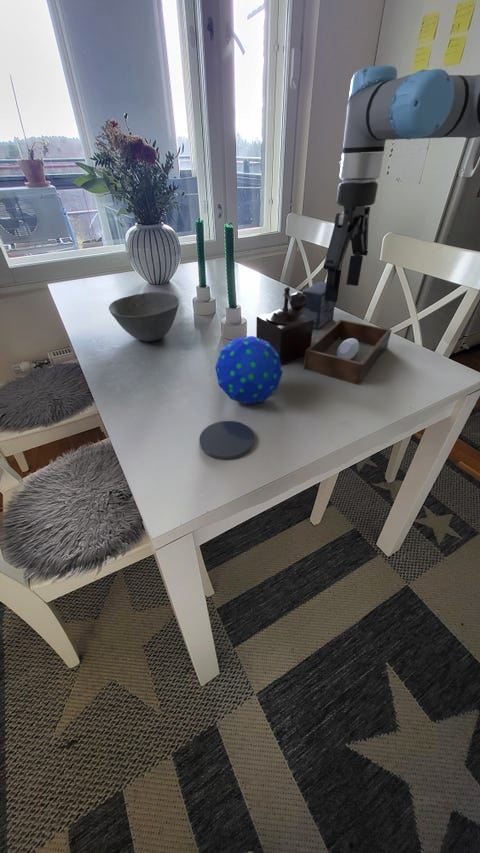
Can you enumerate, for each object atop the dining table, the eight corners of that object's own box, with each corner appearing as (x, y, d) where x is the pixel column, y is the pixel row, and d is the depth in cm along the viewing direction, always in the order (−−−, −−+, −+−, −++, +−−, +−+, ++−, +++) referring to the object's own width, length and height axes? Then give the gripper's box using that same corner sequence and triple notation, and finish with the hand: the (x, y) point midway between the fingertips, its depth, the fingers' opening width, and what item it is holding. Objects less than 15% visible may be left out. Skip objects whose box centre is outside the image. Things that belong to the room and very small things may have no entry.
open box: (386, 347, 91) (391, 329, 88) (358, 385, 77) (363, 365, 74) (337, 336, 97) (340, 319, 94) (303, 369, 83) (305, 350, 80)
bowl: (174, 320, 109) (169, 287, 103) (191, 343, 96) (187, 307, 89) (113, 331, 104) (104, 297, 97) (123, 357, 90) (113, 320, 84)
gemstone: (371, 348, 85) (361, 338, 82) (358, 370, 86) (347, 362, 83) (353, 342, 90) (342, 333, 86) (340, 363, 91) (329, 355, 87)
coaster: (264, 435, 64) (264, 432, 64) (233, 467, 58) (233, 464, 57) (221, 417, 69) (221, 414, 68) (188, 446, 62) (187, 443, 62)
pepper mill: (252, 351, 91) (252, 279, 80) (285, 340, 96) (289, 271, 85) (290, 375, 81) (296, 297, 70) (325, 362, 86) (336, 287, 74)
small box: (314, 314, 110) (318, 280, 103) (333, 319, 107) (338, 283, 100) (298, 326, 103) (301, 290, 97) (318, 330, 100) (323, 294, 94)
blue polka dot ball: (252, 335, 80) (273, 315, 66) (278, 390, 82) (305, 382, 67) (198, 360, 77) (208, 346, 63) (226, 417, 79) (242, 415, 64)
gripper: (360, 177, 77) (345, 277, 90) (313, 185, 61) (303, 305, 74) (395, 177, 74) (374, 281, 87) (355, 185, 58) (337, 311, 71)
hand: (341, 292), depth 81 cm, fingers open, 13 cm apart
